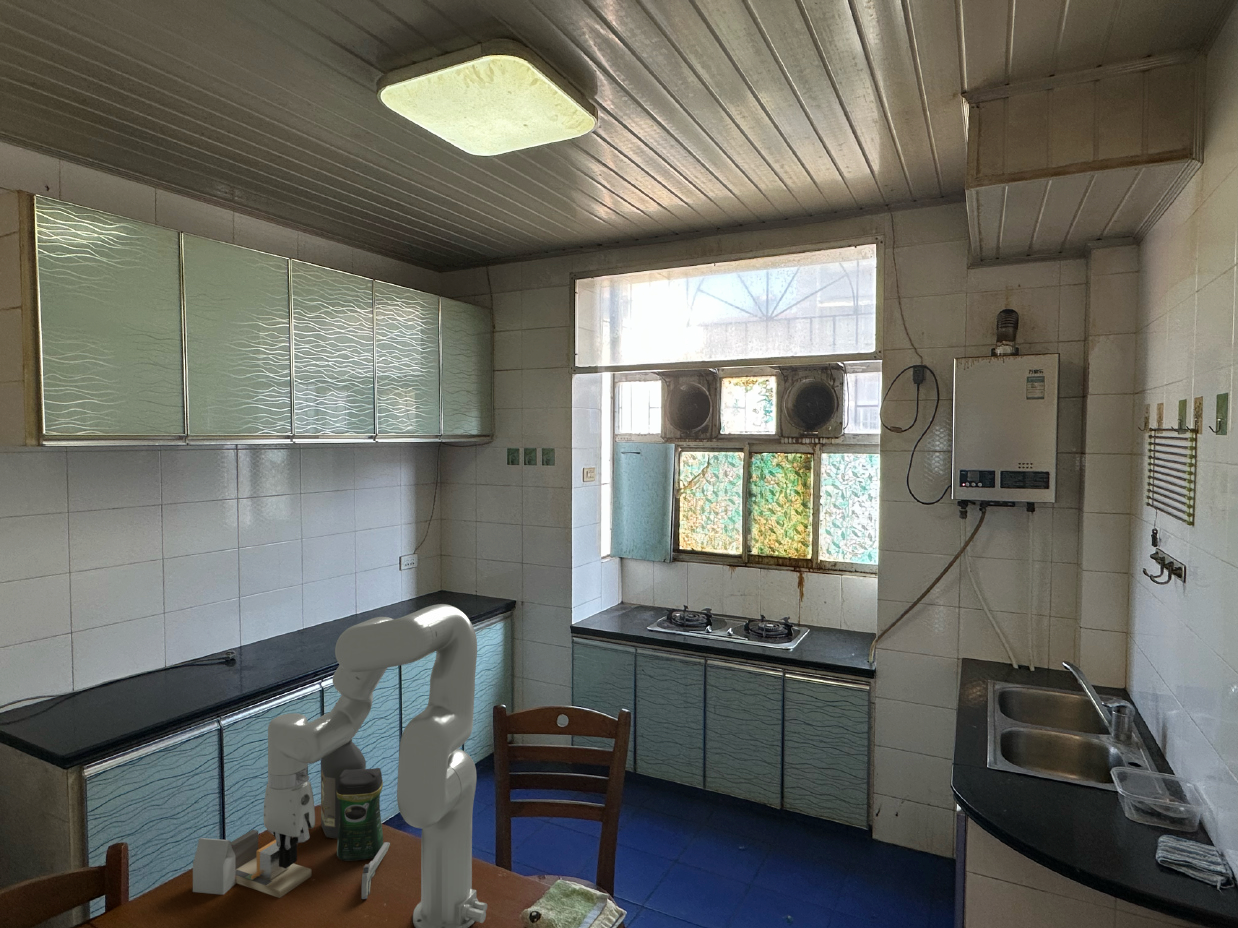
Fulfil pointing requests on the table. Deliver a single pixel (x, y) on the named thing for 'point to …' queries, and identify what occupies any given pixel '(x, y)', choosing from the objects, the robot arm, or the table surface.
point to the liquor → (336, 783)
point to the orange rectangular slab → (259, 859)
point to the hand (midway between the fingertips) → (288, 863)
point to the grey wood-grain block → (270, 862)
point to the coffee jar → (359, 814)
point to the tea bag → (213, 866)
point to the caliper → (372, 870)
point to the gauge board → (247, 867)
